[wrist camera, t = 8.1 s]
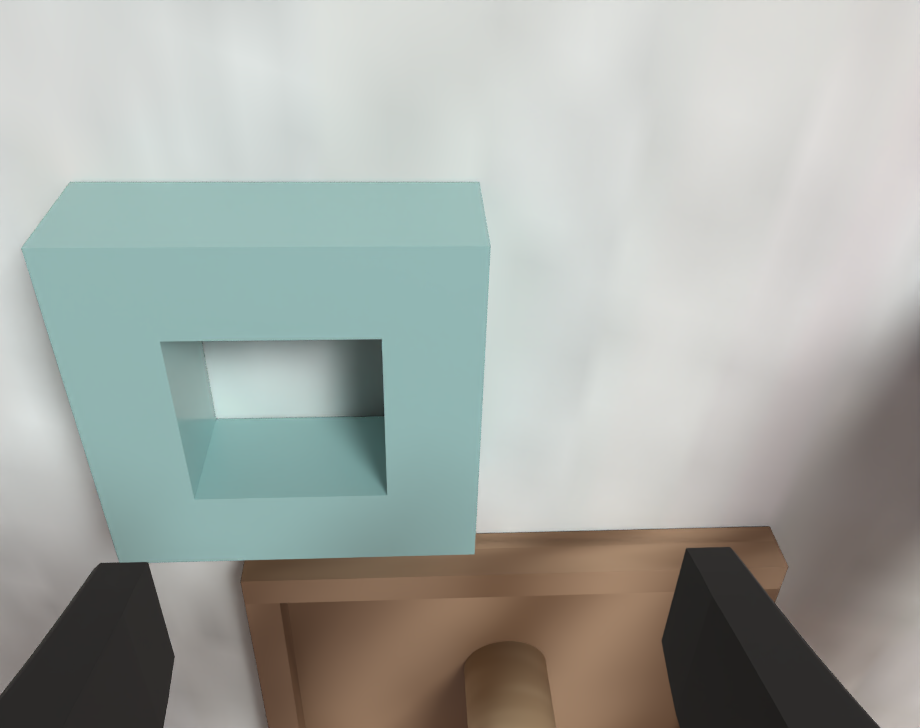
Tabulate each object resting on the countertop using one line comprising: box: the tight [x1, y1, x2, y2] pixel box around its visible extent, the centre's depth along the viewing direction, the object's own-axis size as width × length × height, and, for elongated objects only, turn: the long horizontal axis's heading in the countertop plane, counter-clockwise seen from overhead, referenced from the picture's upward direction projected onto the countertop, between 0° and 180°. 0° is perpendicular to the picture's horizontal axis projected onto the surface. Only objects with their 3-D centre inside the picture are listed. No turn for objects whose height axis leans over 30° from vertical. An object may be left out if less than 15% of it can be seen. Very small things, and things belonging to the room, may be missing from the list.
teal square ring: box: [21, 182, 491, 563], centre depth 21 cm, size 9×9×3 cm
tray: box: [241, 527, 788, 728], centre depth 29 cm, size 16×12×2 cm
